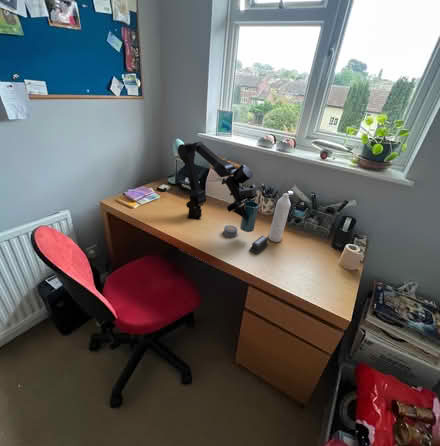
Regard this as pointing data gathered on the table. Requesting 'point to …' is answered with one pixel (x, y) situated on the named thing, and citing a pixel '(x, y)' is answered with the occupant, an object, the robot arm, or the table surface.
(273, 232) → the water bottle
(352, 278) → the table surface
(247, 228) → the pen pot
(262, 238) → the stapler
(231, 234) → the tape roll
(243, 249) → the table surface
